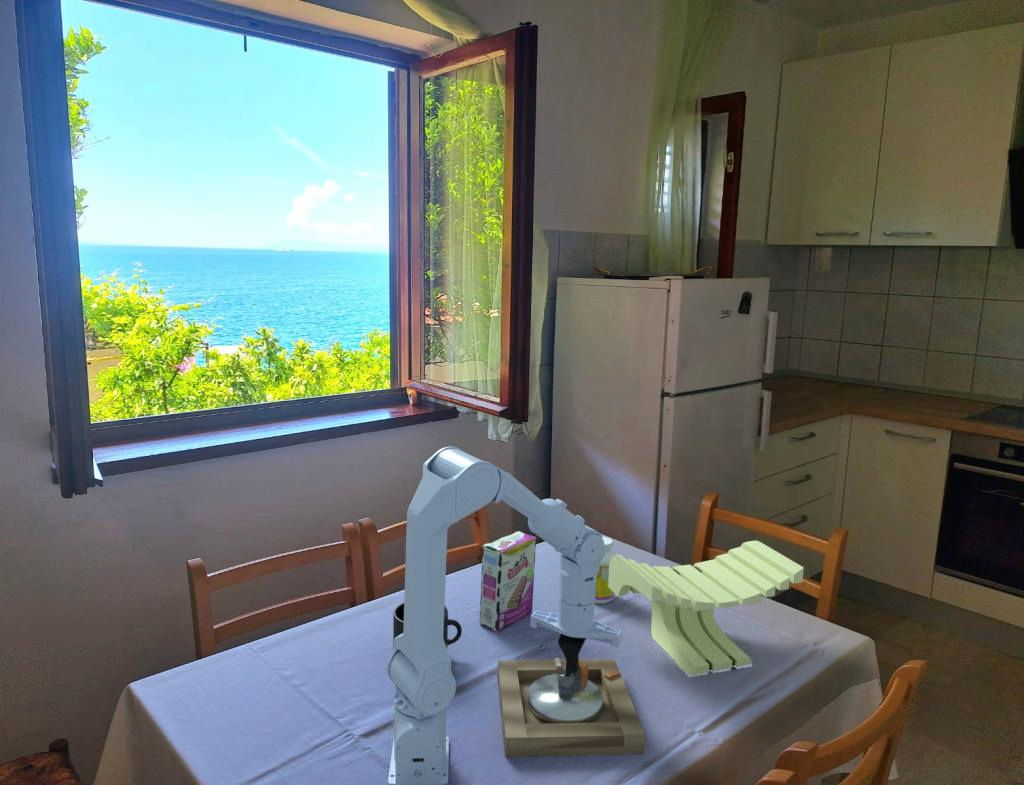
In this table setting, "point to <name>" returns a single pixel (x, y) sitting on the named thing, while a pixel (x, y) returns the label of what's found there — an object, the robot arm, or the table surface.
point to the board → (538, 738)
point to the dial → (566, 697)
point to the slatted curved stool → (704, 600)
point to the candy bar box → (507, 580)
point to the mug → (399, 627)
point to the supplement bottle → (604, 575)
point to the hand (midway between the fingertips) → (572, 675)
